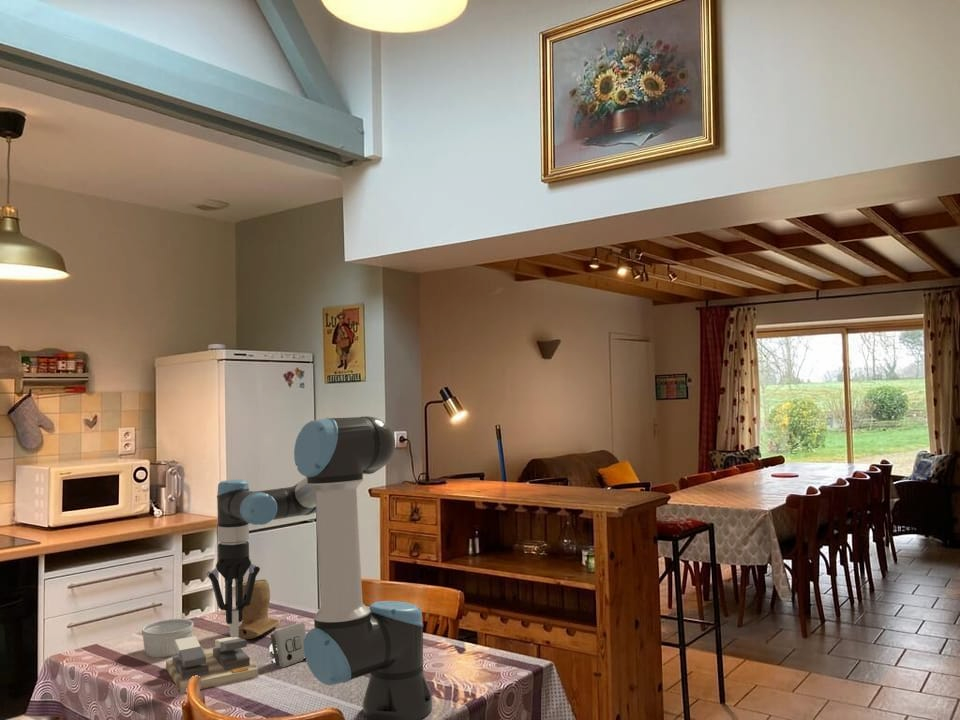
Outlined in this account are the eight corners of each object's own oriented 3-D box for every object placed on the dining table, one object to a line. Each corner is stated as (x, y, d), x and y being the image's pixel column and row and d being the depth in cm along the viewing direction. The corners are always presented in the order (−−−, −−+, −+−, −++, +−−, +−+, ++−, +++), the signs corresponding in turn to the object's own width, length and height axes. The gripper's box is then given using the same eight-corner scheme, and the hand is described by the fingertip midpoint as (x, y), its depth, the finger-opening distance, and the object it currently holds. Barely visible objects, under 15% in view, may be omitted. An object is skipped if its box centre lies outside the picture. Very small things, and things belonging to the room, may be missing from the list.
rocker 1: (205, 666, 191) (206, 657, 190) (184, 670, 188) (184, 661, 188) (195, 644, 201) (195, 636, 201) (174, 648, 198) (175, 639, 198)
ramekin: (202, 643, 220) (201, 618, 220) (179, 660, 207) (179, 633, 207) (157, 643, 221) (157, 618, 221) (132, 659, 208) (132, 633, 208)
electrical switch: (282, 669, 198) (279, 631, 199) (269, 666, 201) (267, 630, 202) (311, 658, 206) (308, 622, 206) (299, 656, 209) (296, 621, 210)
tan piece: (249, 623, 237) (248, 574, 238) (284, 625, 234) (284, 575, 235) (221, 639, 222) (220, 586, 223) (258, 642, 220) (257, 588, 220)
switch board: (257, 676, 193) (257, 660, 193) (181, 693, 184) (181, 676, 184) (236, 654, 210) (236, 639, 210) (165, 668, 201) (165, 652, 201)
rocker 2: (247, 650, 196) (246, 640, 196) (226, 654, 193) (226, 644, 194) (235, 645, 206) (234, 636, 206) (215, 649, 203) (215, 639, 204)
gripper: (255, 536, 204) (256, 627, 203) (203, 542, 197) (204, 636, 196) (263, 540, 197) (264, 634, 197) (210, 547, 190) (211, 644, 190)
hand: (234, 635), depth 196 cm, fingers closed
